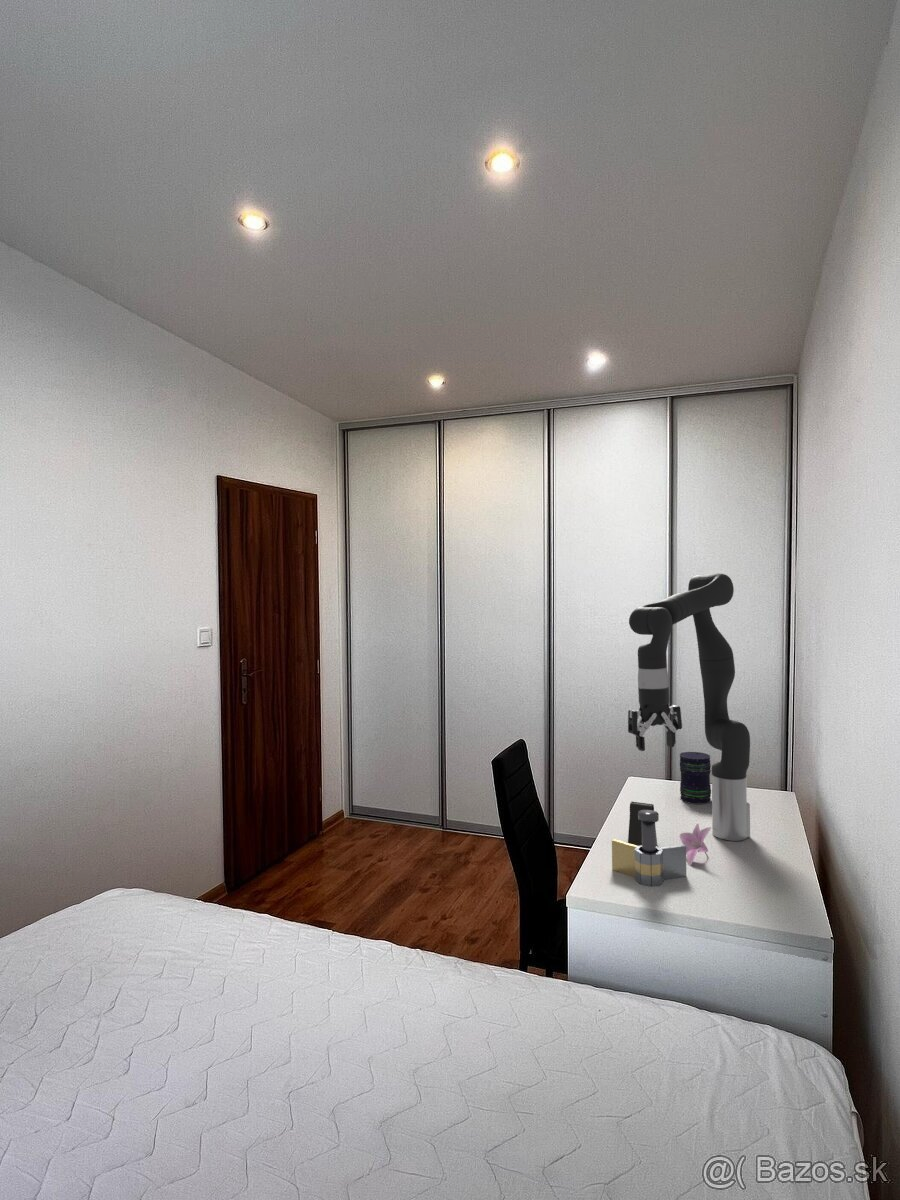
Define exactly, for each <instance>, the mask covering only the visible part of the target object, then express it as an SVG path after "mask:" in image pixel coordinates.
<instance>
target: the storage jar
mask: <svg viewBox="0 0 900 1200" xmlns="http://www.w3.org/2000/svg"><path fill="white" fill-rule="evenodd" d="M679 771H680V782H679V786H680V787H679V792H680V797H679V798H680V800H681V801H683V802H685V803H687V804H688V803H689V804H695V805H705V804H709V803H712V784H711V781H710V779H711V777H710V776H711V775H710V774H711V772H712V764H711V755H710V754H708V753H705V752H700V751H699V752H697V751H687V752H681V753H679Z"/></svg>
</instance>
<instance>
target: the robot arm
mask: <svg viewBox="0 0 900 1200" xmlns="http://www.w3.org/2000/svg"><path fill="white" fill-rule="evenodd" d="M687 587H688V588H687V590H685V591H683V592H679V593H675V594H672V595H670V596H668V597H666V598H664V599H662V600H660V601H657V602H653V603H648V604H644V605H641V606H639V607H637V608H635V609H633V611H632V612H631V613H630V616H629V619H628V623H629V627H630V629H631V630H632V631H633V632H634V633H635V634H638V635H641V636H642V635H643V636H644V635H645V636H646V635H647V636H651V639H650V643H644V644H641V645H640V646H639V647H638V648H637V667H638V668H637V669H638V671H637V689H638V690H637V693H638V704H639V708H638V709H637V710H634V709H629V710H628V712H627V713H628V714H627V733H629V734H632V735H634V736H635V746H636V748H637V749H638V751H640V752H645V750H646V742H645V741H646V740H645V733H646V732H647V730H649V728H650V727H655V726H657V725H658V726H664V728H665V730H666V733H665V735H666V745H667V746H668V747H670V748H674V747H675V744H676V732H677V731H678V730H682V729H683V722H682V712H681V707H680V706H679V705H676V704H671V705H670V706H669V704H670V684H669V674H668V673H669V672H668V662H667V661H668V660H667V650H668V645H669V640H670V636H671V632H672V629H673V628H672V627H673V625H675V624H677V623H679V622H681V621H684V620H685V619H687V618H688V617H690V616H692V618H693V622H694V627H695V628H694V629H695V634H696V641H697V648H698V649H697V650H698V658H699V659H698V661H699V667H700V669H699V670H700V676H701V681H702V683H701V684H702V693H703V694H702V695H703V703H704V704H703V705H704V733H705V739H706V741H707V743H708V744H709V745H710V747H711V748H714V749H717V750H719V751H721V759H720V761H717V762H714V763H713V764H711V808H712V809H711V811H712V812H711V813H712V814H711V819H712V820H711V821H712V824H711V826H712V827H711V829H712V830H711V831H712V835H713V836H714V837H716V838H718V839H720V840H721V839H722V840H726V841H732V842H733V841H735V842H739V841H745V840H746V839H747V838H750V837H751V807H750V806H751V804H750V803H749V802H747V801H748V798H747V796H748V795H747V790H748V789H747V771H748V769H749V766H750V758H751V756H750V755H751V736H750V731H749V729H748V727H747V726H746V725H745V724H744V723H742V722H741V721H738V720H733V719H730V717H729V711H728V698H729V693H730V691H731V688H732V686H733V683H734V681H735V680H734V679H735V676H736V675H735V674H736V667H735V658H734V652H733V649H732V647H731V645H730V643H729V642H728V641H727V638H725V637H724V635H723V634H722V633H721V632H720V631H719V629H718V628H717V626H716V624H715V623H714V620H713V617H712V613H711V608H715V607H722V606H725V605H727V604H728V603H730V602H731V601H732V599H733V596H734V592H735V591H734V590H735V589H734V583H733V581H732V578H731V577H730V576H728V575H727V574H724V573H719V572H718V573H706V574H697V575H693V576H692V577H691V578H690V579H689V582H688V586H687ZM669 715H671V719H670V718H669ZM639 718H640V719H639ZM638 719H639V721H638Z"/></svg>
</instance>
